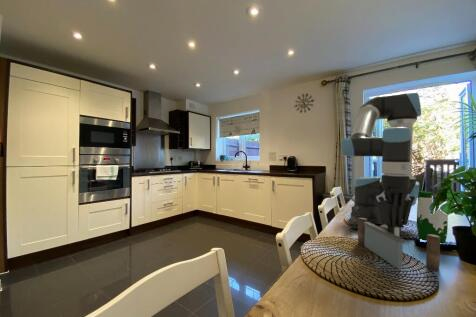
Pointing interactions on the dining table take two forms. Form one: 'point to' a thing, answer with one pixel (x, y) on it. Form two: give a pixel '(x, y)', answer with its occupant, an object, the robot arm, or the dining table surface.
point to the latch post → (433, 252)
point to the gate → (384, 244)
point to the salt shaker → (354, 219)
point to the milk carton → (430, 218)
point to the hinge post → (361, 231)
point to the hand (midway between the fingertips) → (393, 245)
